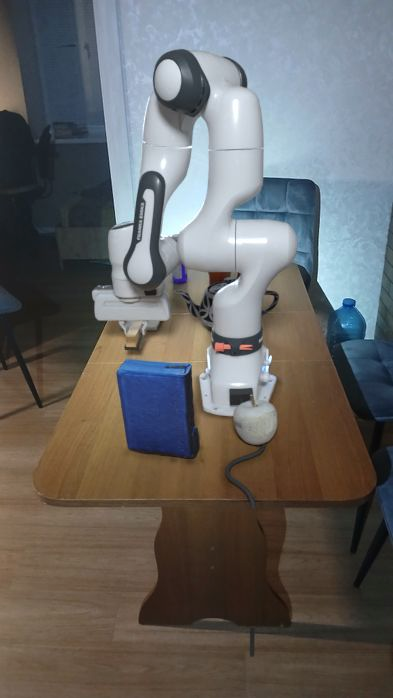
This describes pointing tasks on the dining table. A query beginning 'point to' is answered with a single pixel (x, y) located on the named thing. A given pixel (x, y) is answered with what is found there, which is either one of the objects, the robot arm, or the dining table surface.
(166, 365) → the book
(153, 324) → the tile
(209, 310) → the teapot
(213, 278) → the mug
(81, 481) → the dining table surface
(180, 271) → the bottle
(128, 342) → the brush
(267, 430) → the decorative object
